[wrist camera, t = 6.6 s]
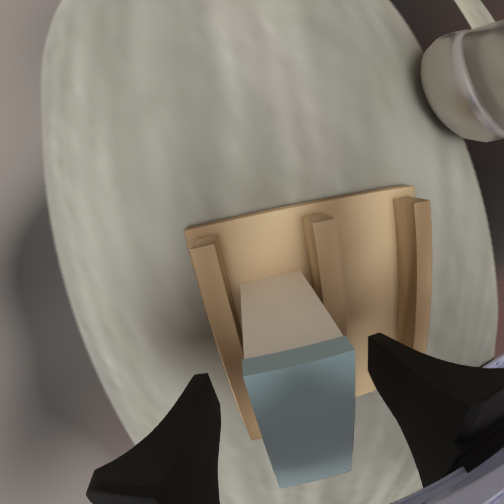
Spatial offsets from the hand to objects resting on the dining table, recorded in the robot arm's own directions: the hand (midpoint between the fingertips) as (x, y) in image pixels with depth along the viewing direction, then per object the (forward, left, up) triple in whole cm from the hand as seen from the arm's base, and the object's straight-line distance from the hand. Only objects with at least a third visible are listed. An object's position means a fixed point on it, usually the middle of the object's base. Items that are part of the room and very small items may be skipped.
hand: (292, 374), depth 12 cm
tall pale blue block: (0, 0, -3) cm, 3 cm away
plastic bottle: (-13, -12, -5) cm, 19 cm away
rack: (-2, 0, -4) cm, 5 cm away
